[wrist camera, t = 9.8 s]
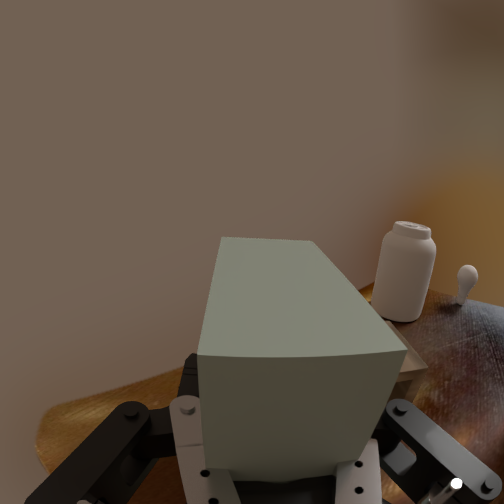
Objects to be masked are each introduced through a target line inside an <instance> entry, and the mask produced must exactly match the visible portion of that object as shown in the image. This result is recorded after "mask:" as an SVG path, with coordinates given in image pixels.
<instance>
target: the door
mask: <svg viewBox="0 0 504 504" xmlns="http://www.w3.org/2000/svg"><path fill="white" fill-rule="evenodd" d="M407 351H408V349H407V348H406V346H405V345H404V344H403V343H402V342H401V340H400V339H399V338H398V337H397V336H396V334H395V333H394V332H393V331H392V330H391V328H390V327H389V326H388V325H387V324H386V323H385V321H384V320H383V319H382V318H381V317H380V316H379V314H378V313H377V312H376V311H375V310H374V309H373V308H372V306H371V305H370V304H369V303H368V302H367V301H366V300H365V298H364V297H363V296H362V295H361V294H360V293H359V292H358V291H357V289H355V287H354V286H353V285H352V284H351V283H350V282H349V281H348V279H347V278H346V277H345V276H344V275H343V274H342V273H341V272H340V271H339V270H338V269H337V267H336V266H335V265H334V264H333V263H332V262H331V261H330V260H329V259H328V258H327V257H326V255H325V254H324V253H323V252H322V251H321V250H320V249H319V248H318V247H317V246H316V245H315V244H314V243H313V242H312V241H297V240H278V239H257V238H256V239H255V238H235V237H234V238H233V237H222V238H221V242H220V247H219V251H218V256H217V260H216V265H215V270H214V274H213V279H212V284H211V288H210V293H209V297H208V302H207V308H206V312H205V317H204V322H203V327H202V332H201V337H200V342H199V347H198V352H197V366H198V384H199V399H200V412H201V425H202V436H203V447H204V457H205V466H206V468H218V469H229V472H230V475H231V477H232V480H233V481H262V482H268V483H275V484H285V483H289V482H292V481H296V480H299V479H302V478H310V477H318V476H326V475H333V470H334V468H335V466H336V464H337V462H344V461H350V460H355V459H359V457H360V456H361V454H362V452H363V450H364V448H365V447H366V445H367V443H368V441H369V439H370V437H371V435H372V433H373V431H374V429H375V427H376V425H377V423H378V421H379V419H380V417H381V415H382V412H383V410H384V408H385V406H386V404H387V401H388V399H389V397H390V394H391V392H392V390H393V387H394V385H395V382H396V380H397V378H398V375H399V372H400V370H401V367H402V365H403V362H404V359H405V356H406V354H407Z"/></svg>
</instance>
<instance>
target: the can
mask: <svg viewBox="0 0 504 504" xmlns="http://www.w3.org/2000/svg"><path fill="white" fill-rule="evenodd" d="M435 256H436V245H435V244H434V242H433V240H432V239H431V230H430V228H428V227H426V226H423V225H420V224H416V223H411V222H405V221H398V222H395V224H394V226H393V230H391V231H390V232H388V233H387V234H386V235H385V237H384V239H383V241H382V248H381V253H380V259H379V264H378V270H377V274H376V279H375V284H374V289H373V294H372V298H371V306H372V308H373V309H374V310H375V311H376V312H377V313H378V314H379V315H380V316H382V317H384V318H386V319H389V320H392V321H398V322H410V321H414V320H416V319H418V317H419V316H420V314H421V311H422V308H423V304H424V301H425V297H426V293H427V290H428V286H429V282H430V278H431V274H432V269H433V265H434V260H435Z"/></svg>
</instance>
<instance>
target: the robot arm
mask: <svg viewBox="0 0 504 504" xmlns="http://www.w3.org/2000/svg"><path fill="white" fill-rule="evenodd" d="M401 440H403V441H404V442H405V443H406V444H407V445H408V446H409V447H410V448H411V449H412V450H413V451H414V452H415V453H416V457H415V456H414V455H413V454H412V453H411V452H410V451H409V450H408V449H407V448H406V447H405V446H404V445H403V444H402V443H401V442H400V441H401ZM176 455H177V458H178V463H179V468H180V473H181V478H182V483H183V487H184V491H185V496H186V500H187V503H186V504H391V503H389V502H388V501H386V500H384V499H383V498H382V493H381V477H380V467H381V468H382V469H383V470H384V471H385V472H386V473H387V474H388V476H389V477H390V478H391V479H392V480H393V481H394V482H395V483H396V484H397V485H398V486H399V487H400V488H401V489H402V490H403V491H404V492H405V493H406V494H407V495H408V497H409V498H410V499H411V500H412V501H413V502H414V503H415V504H489V503H490V502H491V501H493V500H494V499H495V498H496V497H497V496H498V495H499V494H500V492H501V490H502V481H501V479H500V477H499V476H498V475H497V474H496V473H495V472H493V471H492V470H491V469H490V468H488V467H487V466H486V465H485V464H484V463H482V462H481V461H480V460H479V459H478V458H476V457H475V456H474V455H473V454H471V453H470V452H469V451H468V450H467V449H465V448H464V447H463V446H462V445H461V444H459V443H458V442H457V441H456V440H455V439H454V438H452V437H451V436H450V435H449V434H448V433H446V432H445V431H444V430H443V429H442V428H440V427H439V426H438V425H437V424H436V423H434V422H433V421H432V420H431V419H430V418H429V417H427V416H426V415H425V414H424V413H423V412H421V411H420V410H419V409H418V408H417V407H416V406H414V405H413V404H412V403H411V402H409V401H407V400H404V399H393V400H391V401H389V402H388V404H387V405H386V407H385V408H384V410H383V412H382V415H381V417H380V419H379V421H378V423H377V425H376V427H375V429H374V431H373V433H372V435H371V437H370V439H369V441H368V443H367V445H366V447H365V448H364V450H363V452H362V454H361V456H360V457H359V459H355V460H350V461H344V462H337V464H336V466H335V468H334V470H333V475H326V476H318V477H310V478H302V479H299V480H296V481H292V482H289V483H285V484H275V483H268V482H262V481H233V480H232V477H231V475H230V472H229V469H218V468H206V466H205V457H204V447H203V436H202V425H201V412H200V399H199V384H198V366H197V354H194V353H192V354H191V355H190V356H189V357H188V358H187V359H186V360H185V364H184V369H183V373H182V377H181V382H180V386H179V390H178V395H177V398H175V399H174V400H173V401H172V402H171V404H170V405H169V406H168V407H165V408H161V409H153V410H148V408H147V407H146V406H145V405H144V404H142V403H140V402H136V401H128V402H124V403H122V404H120V405H118V406H117V407H116V408H115V409H114V410H113V411H112V412H111V413H110V414H109V415H108V417H107V418H106V419H105V420H104V421H103V422H102V423H101V424H100V425H99V426H98V427H97V428H96V429H95V430H94V431H93V432H92V433H91V434H90V435H89V436H88V437H87V438H86V439H85V440H84V441H83V442H82V443H81V444H80V445H79V446H78V447H77V448H76V449H75V450H74V451H73V452H72V453H71V454H70V455H69V456H68V457H67V458H66V459H65V460H64V461H63V462H62V463H61V464H60V465H59V466H58V467H57V468H56V469H55V470H54V471H53V473H52V474H51V475H50V476H49V477H48V478H47V479H46V480H45V481H44V482H43V483H42V484H41V485H40V486H39V487H38V488H37V489H36V490H35V491H34V492H33V493H32V494H31V495H30V496H29V497H28V498H27V499H26V501H25V503H24V504H127V502H128V501H129V499H130V498H131V497H132V495H133V494H134V493H135V491H136V490H137V489H138V487H139V486H140V484H141V483H142V482H143V480H144V479H145V478H146V476H147V475H148V473H149V472H150V471H151V469H152V468H153V466H154V465H155V464H156V462H157V461H158V459H159V458H162V457H169V456H176Z"/></svg>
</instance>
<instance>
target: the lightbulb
mask: <svg viewBox="0 0 504 504" xmlns="http://www.w3.org/2000/svg"><path fill="white" fill-rule="evenodd" d="M457 279H458V285H459V289H458V297H457V303H458V304H459V305H462V304H464V303H465V300H466V297H467V296H468V294H469V292H470V290H471V289H472V287H474V285H475V284H476V282H477V280H478V273H477V270H476V269H475V268H474V267H473V266H471V265H465V266H463V267H462V268H461V269H460V270H459V272H458V276H457Z"/></svg>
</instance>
